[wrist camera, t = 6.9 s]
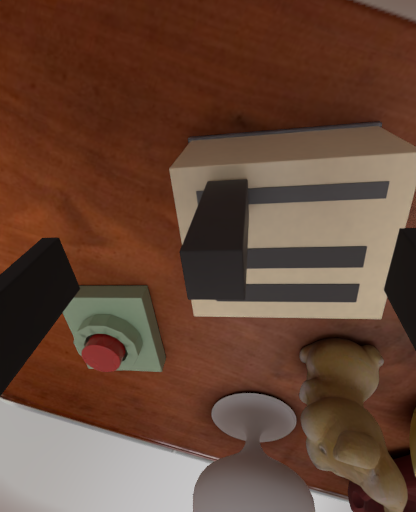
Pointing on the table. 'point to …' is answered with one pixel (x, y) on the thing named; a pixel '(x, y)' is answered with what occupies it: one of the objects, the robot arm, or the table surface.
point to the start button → (103, 352)
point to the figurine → (348, 419)
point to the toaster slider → (218, 243)
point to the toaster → (307, 215)
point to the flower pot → (413, 441)
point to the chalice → (252, 461)
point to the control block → (118, 323)
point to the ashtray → (367, 508)
